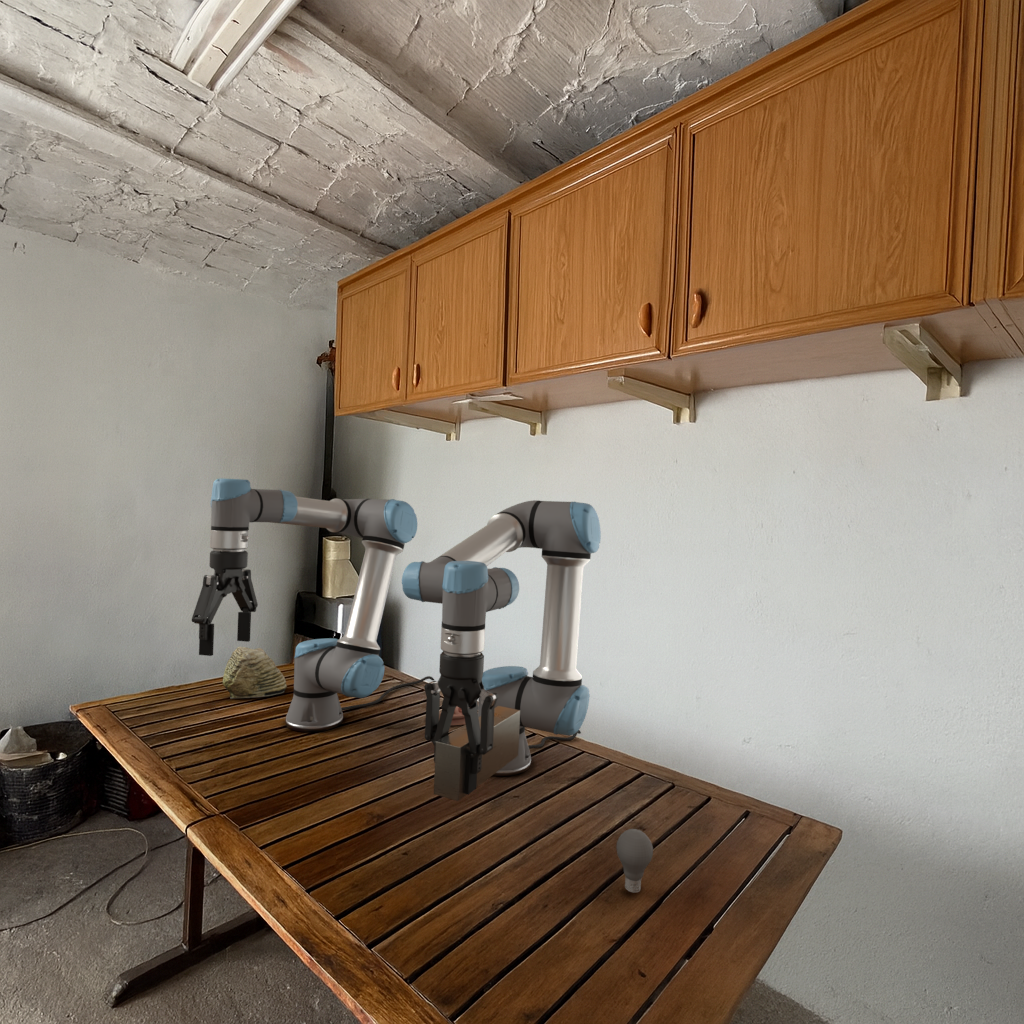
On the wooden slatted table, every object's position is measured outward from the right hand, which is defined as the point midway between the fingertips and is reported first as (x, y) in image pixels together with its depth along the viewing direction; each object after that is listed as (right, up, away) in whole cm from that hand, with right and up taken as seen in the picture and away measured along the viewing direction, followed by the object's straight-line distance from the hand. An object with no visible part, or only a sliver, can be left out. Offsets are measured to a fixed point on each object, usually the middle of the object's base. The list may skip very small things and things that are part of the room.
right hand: (456, 786), depth 109 cm
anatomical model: (-8, -13, +75) cm, 76 cm away
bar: (+4, -1, +7) cm, 8 cm away
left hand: (-53, +18, +29) cm, 62 cm away
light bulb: (+30, -16, -3) cm, 34 cm away
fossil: (-71, -10, +89) cm, 115 cm away
